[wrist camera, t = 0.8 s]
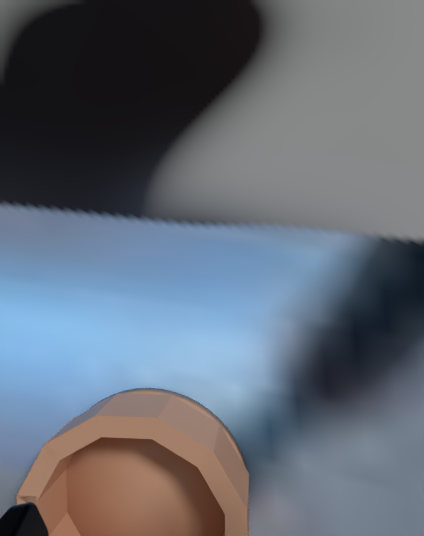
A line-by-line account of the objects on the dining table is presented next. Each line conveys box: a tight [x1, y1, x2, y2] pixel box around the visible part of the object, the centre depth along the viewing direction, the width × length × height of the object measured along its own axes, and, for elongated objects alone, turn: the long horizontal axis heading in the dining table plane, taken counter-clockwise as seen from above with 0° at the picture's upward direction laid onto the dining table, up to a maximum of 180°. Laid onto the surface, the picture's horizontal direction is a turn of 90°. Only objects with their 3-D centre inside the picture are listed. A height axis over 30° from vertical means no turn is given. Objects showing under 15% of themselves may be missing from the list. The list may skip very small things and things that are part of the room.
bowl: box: [17, 388, 250, 536], centre depth 21 cm, size 11×11×4 cm
